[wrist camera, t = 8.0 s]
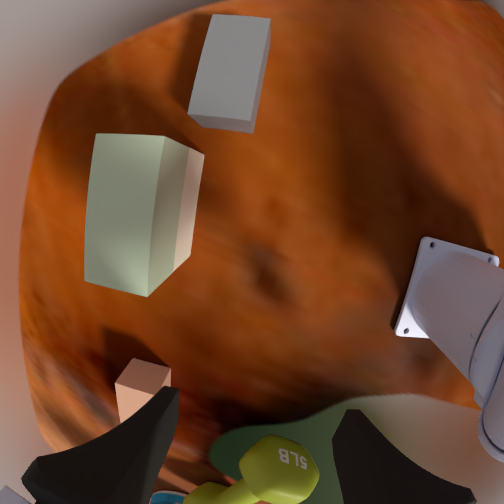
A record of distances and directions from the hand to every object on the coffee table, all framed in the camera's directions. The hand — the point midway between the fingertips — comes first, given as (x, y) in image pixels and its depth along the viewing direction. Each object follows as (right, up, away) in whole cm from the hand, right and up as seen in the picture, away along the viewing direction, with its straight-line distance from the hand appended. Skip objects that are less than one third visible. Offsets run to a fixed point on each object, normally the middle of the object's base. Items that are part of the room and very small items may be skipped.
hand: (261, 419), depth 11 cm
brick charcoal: (-1, +18, +7) cm, 20 cm away
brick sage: (-6, +10, +5) cm, 12 cm away
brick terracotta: (-9, -6, +13) cm, 17 cm away
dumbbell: (-1, -17, +15) cm, 23 cm away
